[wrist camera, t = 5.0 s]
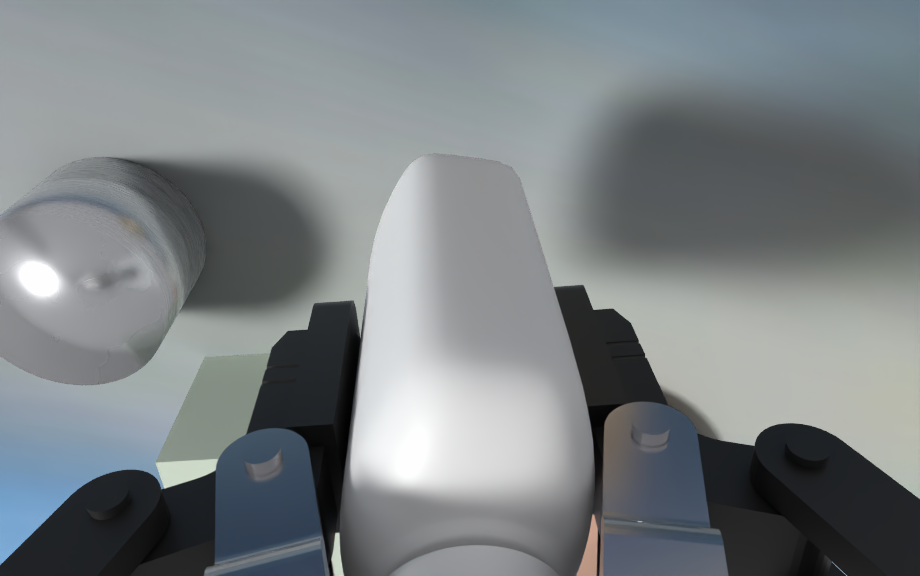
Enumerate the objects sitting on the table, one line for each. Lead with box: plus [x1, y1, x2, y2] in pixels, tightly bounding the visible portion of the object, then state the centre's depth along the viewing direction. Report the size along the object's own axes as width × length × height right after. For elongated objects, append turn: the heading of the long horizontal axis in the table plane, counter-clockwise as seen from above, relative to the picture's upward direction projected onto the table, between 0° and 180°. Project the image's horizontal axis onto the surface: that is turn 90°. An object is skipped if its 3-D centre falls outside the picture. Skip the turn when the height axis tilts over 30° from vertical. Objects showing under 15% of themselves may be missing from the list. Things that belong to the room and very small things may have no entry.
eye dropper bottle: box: [339, 154, 595, 576], centre depth 11 cm, size 4×6×12 cm
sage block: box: [156, 354, 344, 576], centre depth 23 cm, size 5×5×5 cm
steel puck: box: [0, 157, 206, 385], centre depth 20 cm, size 5×5×4 cm
